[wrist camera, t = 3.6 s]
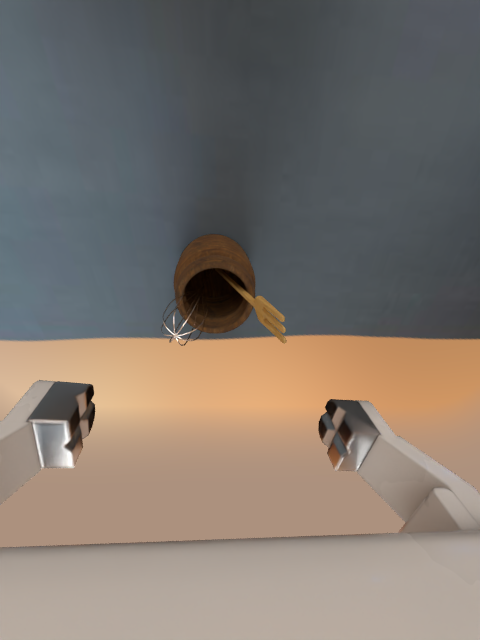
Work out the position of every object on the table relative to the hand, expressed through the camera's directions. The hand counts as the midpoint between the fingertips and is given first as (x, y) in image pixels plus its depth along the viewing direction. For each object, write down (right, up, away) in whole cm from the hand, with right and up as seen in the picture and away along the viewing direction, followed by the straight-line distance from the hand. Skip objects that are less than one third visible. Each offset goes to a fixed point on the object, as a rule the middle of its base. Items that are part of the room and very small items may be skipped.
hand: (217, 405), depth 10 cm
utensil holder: (-1, +8, +14) cm, 16 cm away
